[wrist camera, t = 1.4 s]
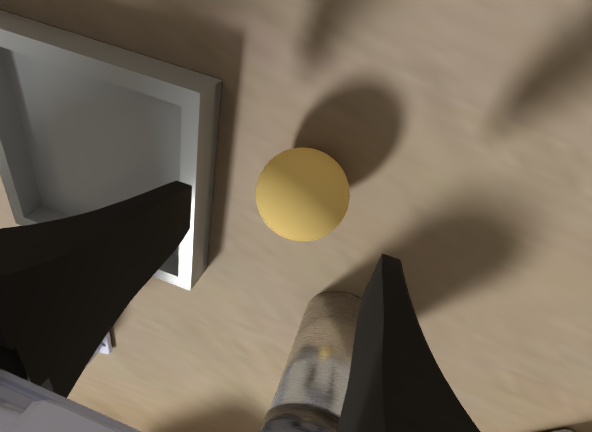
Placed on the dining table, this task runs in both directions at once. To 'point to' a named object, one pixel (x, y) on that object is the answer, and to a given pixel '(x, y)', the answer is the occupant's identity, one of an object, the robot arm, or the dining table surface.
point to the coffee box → (563, 430)
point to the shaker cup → (316, 367)
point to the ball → (302, 194)
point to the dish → (103, 132)
